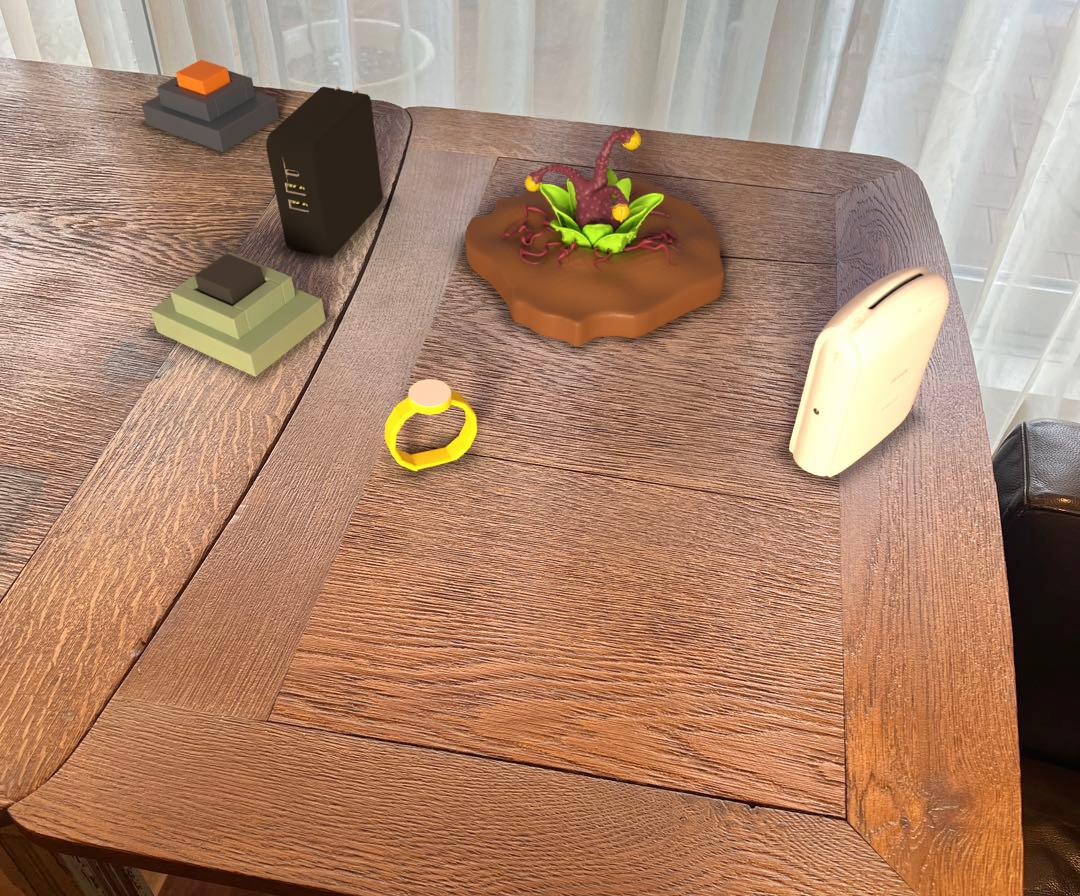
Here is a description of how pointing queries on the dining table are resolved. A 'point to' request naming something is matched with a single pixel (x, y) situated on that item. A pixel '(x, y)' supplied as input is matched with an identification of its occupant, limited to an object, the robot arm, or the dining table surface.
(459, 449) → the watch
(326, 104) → the electronic device
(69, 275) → the dining table surface
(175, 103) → the grey orange stepped button
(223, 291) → the key
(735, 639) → the dining table surface
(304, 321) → the green stepped button
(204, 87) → the key
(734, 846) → the dining table surface
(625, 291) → the plant
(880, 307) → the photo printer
